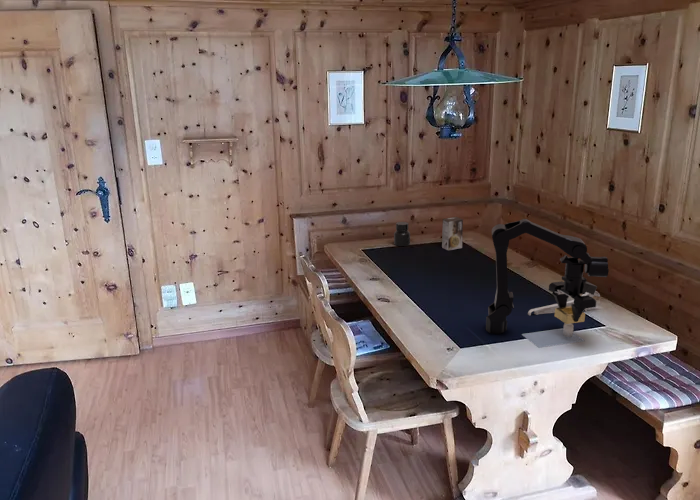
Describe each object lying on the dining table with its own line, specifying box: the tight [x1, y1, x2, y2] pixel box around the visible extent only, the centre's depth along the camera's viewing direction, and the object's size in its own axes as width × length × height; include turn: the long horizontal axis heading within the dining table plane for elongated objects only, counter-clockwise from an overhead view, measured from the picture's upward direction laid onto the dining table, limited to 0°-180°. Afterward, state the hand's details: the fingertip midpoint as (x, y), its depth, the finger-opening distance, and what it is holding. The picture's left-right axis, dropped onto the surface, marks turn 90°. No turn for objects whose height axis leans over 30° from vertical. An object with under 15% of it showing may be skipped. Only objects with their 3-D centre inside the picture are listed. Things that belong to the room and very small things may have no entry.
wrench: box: [527, 290, 601, 316], centre depth 220 cm, size 8×2×30 cm
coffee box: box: [441, 216, 464, 251], centre depth 304 cm, size 9×6×16 cm
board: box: [521, 322, 586, 349], centre depth 198 cm, size 18×11×5 cm, turn 105°
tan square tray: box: [554, 306, 586, 324], centre depth 198 cm, size 7×7×3 cm
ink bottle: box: [393, 221, 411, 247], centre depth 313 cm, size 10×9×12 cm
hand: (569, 317), depth 198 cm, fingers closed on tan square tray, 7 cm apart
